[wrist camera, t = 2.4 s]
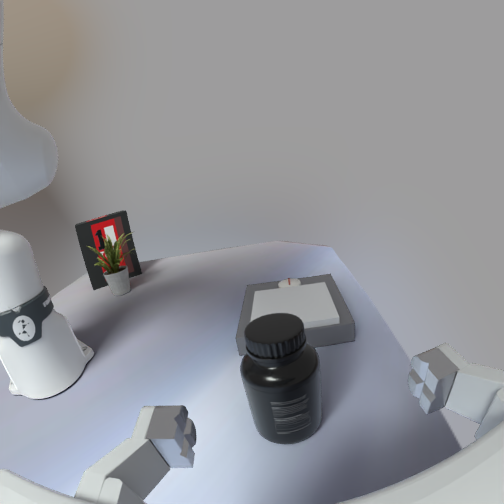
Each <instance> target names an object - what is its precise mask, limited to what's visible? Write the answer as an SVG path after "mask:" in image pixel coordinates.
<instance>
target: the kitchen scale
mask: <svg viewBox="0 0 504 504" xmlns="http://www.w3.org/2000/svg"><path fill="white" fill-rule="evenodd" d="M272 313H289V314H293V315H296V316H297V317H300V319H301V320H302V322H303V323H304V330H305V335H306V341H307V342H308V343H309V344H311V345H312V346H313V347H321V346H327V345H334V344H340V343H345V342H351V341H354V332H355V323H354V320H353V318H352V316H351V314H350V312H349V310H348V308H347V306H346V304H345V302H344V300H343V298H342V296H341V294H340V292H339V290H338V288H337V286H336V284H335V282H334V280H333V278H332V276H331V274H327V275H320V276H313V277H306V278H299V279H290V278H288V279H285V280H282V281H276V282H268V283H261V284H253V285H247V288H246V292H245V297H244V302H243V306H242V311H241V316H240V320H239V325H238V329H237V334H236V342H237V346H238V351H239V355H240V356H241V355H245V354H246V352H247V350H246V342H245V337H244V331H245V328H246V326H247V325H248V324H249V323H250V322H252V321H253V320H254V319H256V318H258V317H261V316H264V315H267V314H272Z"/></svg>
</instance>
